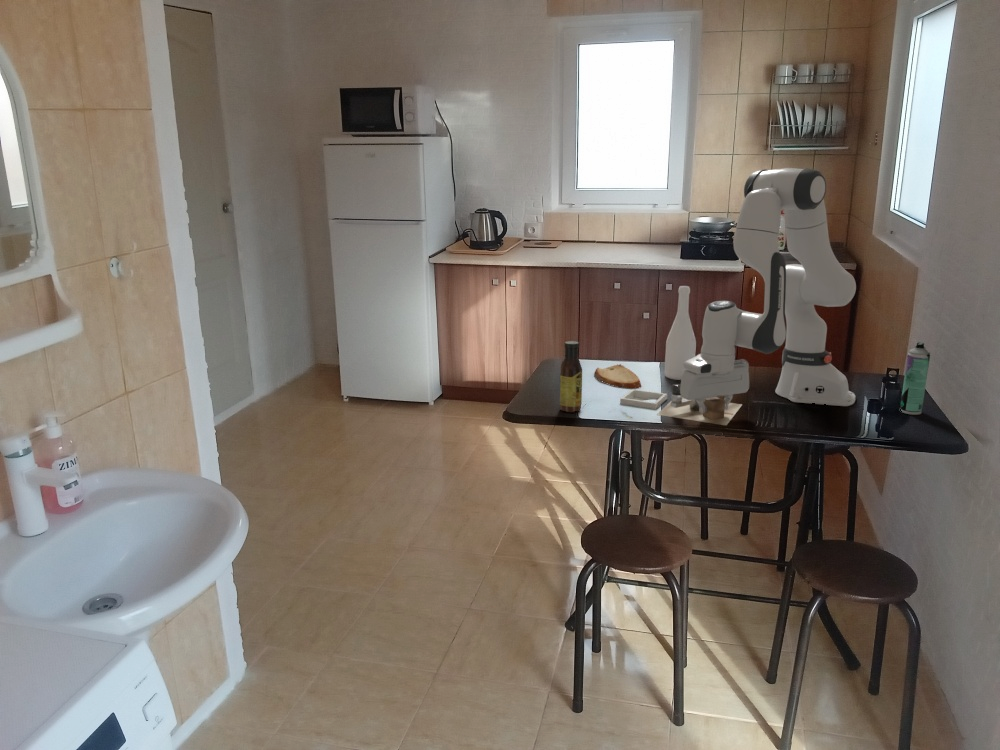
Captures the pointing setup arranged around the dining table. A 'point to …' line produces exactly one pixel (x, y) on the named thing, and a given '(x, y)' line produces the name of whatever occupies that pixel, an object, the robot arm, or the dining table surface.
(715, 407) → the block
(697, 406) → the crank
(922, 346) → the spray can
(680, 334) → the wine bottle
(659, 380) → the dining table surface
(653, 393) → the tray
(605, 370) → the bread slice
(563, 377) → the sauce bottle
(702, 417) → the crank board
